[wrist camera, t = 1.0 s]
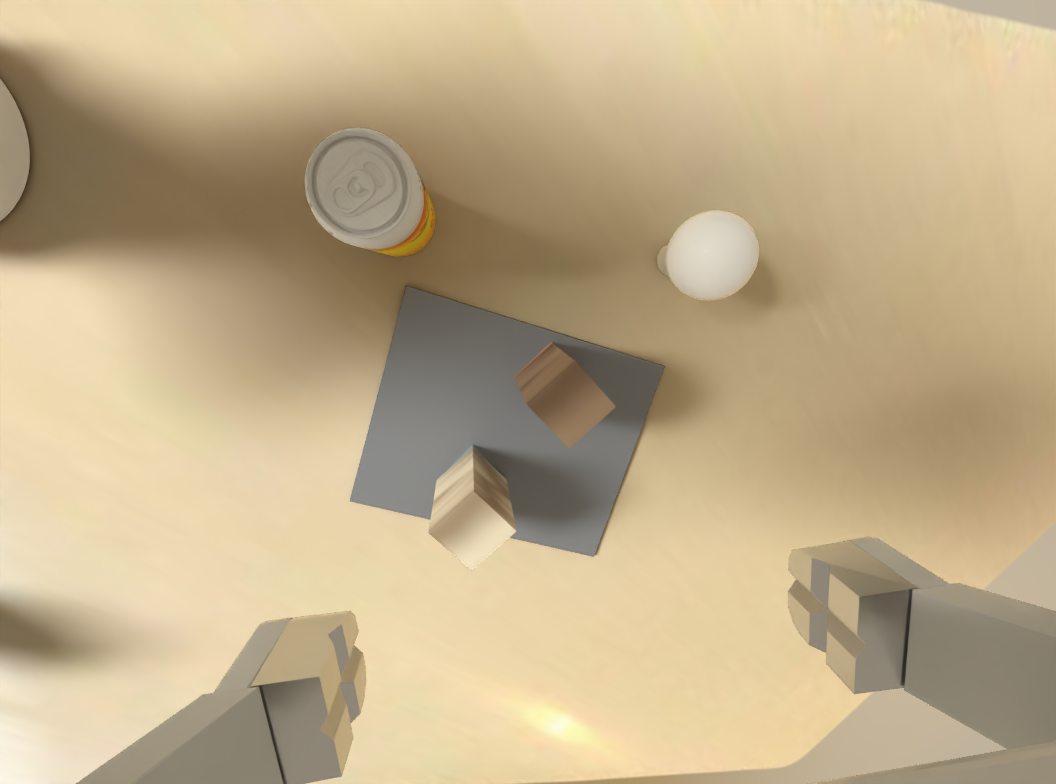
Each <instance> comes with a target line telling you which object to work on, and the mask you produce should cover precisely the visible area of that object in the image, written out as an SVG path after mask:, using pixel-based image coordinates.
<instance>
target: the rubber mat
mask: <svg viewBox="0 0 1056 784" xmlns="http://www.w3.org/2000/svg"><path fill="white" fill-rule="evenodd" d="M551 342H552V343H553V344H554V345H555V346H557V347H558V348H559V349H561V350H562V351H563V352H564V353H566V354H567V355H568V356H570V357H571V358H572V359H573V360H575V361H576V362H577V363H578V365H579V366H580V367H581V368H582V369H583V370H584V371H585V372H586V373H587V375H588V376H589V377H590V378H591V379H592V380H593V381H594V382H595V383H596V385H597V386H598V387H599V388H600V389H601V390H602V391H603V392H604V393H605V395H606V396H607V397H608V398H609V399H610V400H611V401H612V402H613V404H614V405H615V406H616V407H615V408H614V409H613V410H612V411H611V412H610V413H609V414H608V415H606V416H605V417H604V418H603V419H602V420H601V421H600V422H599V423H598V424H596V425H595V426H594V427H593V428H592V429H591V430H590V431H589V432H588V433H586V434H585V435H584V436H583V437H582V438H581V439H580V440H579V441H578V442H577V443H575V444H574V445H573V446H572V447H571V448H570V449H569V448H568V447H567V446H566V445H565V444H564V443H563V442H562V441H561V440H560V439H559V438H558V437H557V436H556V435H555V434H554V433H553V431H552V430H551V429H550V428H549V427H548V426H547V425H546V424H545V423H544V422H543V421H542V420H541V419H540V418H539V417H538V416H537V415H536V414H535V413H534V412H533V411H532V410H531V409H530V408H529V407H528V405H527V404H526V401H525V399H524V397H523V395H522V393H521V391H520V388H519V386H518V384H517V382H516V380H515V378H514V376H515V375H516V374H517V373H518V372H519V371H521V370H522V369H523V368H524V367H525V366H526V365H527V364H528V363H529V362H530V361H531V360H532V359H534V358H535V357H536V356H537V355H538V354H539V353H540V352H541V351H542V350H543V349H544V348H545V347H546V346H548V345H549V344H550V343H551ZM664 367H665V366H662V365H659V364H656V363H652V362H649V361H646V360H643V359H640V358H636V357H633V356H630V355H627V354H624V353H620V352H617V351H614V350H611V349H608V348H604V347H601V346H598V345H595V344H592V343H588V342H585V341H582V340H579V339H576V338H572V337H569V336H566V335H563V334H560V333H556V332H553V331H550V330H547V329H543V328H540V327H537V326H534V325H531V324H527V323H524V322H521V321H518V320H515V319H511V318H508V317H505V316H502V315H499V314H495V313H492V312H489V311H486V310H483V309H479V308H476V307H473V306H470V305H467V304H463V303H460V302H457V301H454V300H451V299H447V298H444V297H441V296H438V295H435V294H431V293H428V292H425V291H422V290H419V289H415V288H412V287H409V286H406V289H405V293H404V297H403V301H402V304H401V308H400V312H399V316H398V320H397V323H396V327H395V331H394V335H393V339H392V342H391V346H390V350H389V354H388V358H387V361H386V365H385V369H384V373H383V377H382V380H381V384H380V388H379V392H378V396H377V399H376V403H375V407H374V411H373V415H372V418H371V422H370V426H369V430H368V434H367V437H366V441H365V445H364V449H363V453H362V456H361V460H360V464H359V468H358V472H357V475H356V479H355V483H354V487H353V491H352V494H351V498H350V501H351V502H355V503H360V504H364V505H369V506H373V507H377V508H382V509H386V510H391V511H395V512H399V513H404V514H408V515H413V516H417V517H421V518H426V519H430V520H431V513H432V507H433V500H434V494H435V487H436V478H437V477H438V476H439V475H440V474H441V473H442V472H443V471H445V470H446V469H447V468H448V467H449V466H450V465H451V464H452V463H453V462H454V461H455V460H456V459H458V458H459V457H460V456H461V455H462V454H463V453H464V452H465V451H466V450H467V449H468V448H470V447H471V446H472V445H473V446H474V447H476V448H477V449H478V450H479V451H480V452H481V453H482V454H483V455H484V456H485V457H486V458H487V459H488V460H489V461H490V462H491V463H492V464H493V465H494V466H495V467H496V468H497V469H498V470H499V471H500V472H501V473H502V474H503V475H504V476H505V477H506V478H507V484H508V490H509V495H510V500H511V505H512V510H513V515H514V521H515V526H516V532H515V533H514V534H513V535H512V536H511V537H510V538H514V539H518V540H522V541H527V542H531V543H536V544H540V545H544V546H549V547H553V548H558V549H562V550H566V551H571V552H575V553H580V554H584V555H588V556H593V557H594V555H595V552H596V550H597V547H598V544H599V542H600V539H601V536H602V533H603V531H604V528H605V525H606V523H607V520H608V517H609V515H610V512H611V509H612V507H613V504H614V501H615V499H616V496H617V493H618V491H619V488H620V485H621V483H622V480H623V477H624V475H625V472H626V469H627V467H628V464H629V461H630V459H631V456H632V453H633V450H634V448H635V445H636V442H637V440H638V437H639V434H640V432H641V429H642V426H643V424H644V421H645V418H646V416H647V413H648V410H649V408H650V405H651V402H652V400H653V397H654V394H655V392H656V389H657V386H658V384H659V381H660V378H661V375H662V373H663V370H664Z"/></svg>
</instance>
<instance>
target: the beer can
mask: <svg viewBox="0 0 1056 784" xmlns="http://www.w3.org/2000/svg"><path fill="white" fill-rule="evenodd" d="M305 192H306V197H307V201H308V204H309V206H310V209H311V211H312V213H313V214H314V216H315V218H316V219H317V221H318V222H319V223H320V225H321V226H322V227H323V228H324V229H325V230H326V231H327V232H329V233H330V234H331V235H332V236H334V237H335V238H337V239H339V240H340V241H342V242H344V243H347V244H350V245H353V246H356V247H360V248H364V249H368V250H371V251H375V252H379V253H382V254H386V255H390V256H396V257H403V256H409V255H412V254H414V253H416V252H418V251H420V250H421V249H422V248H424V247H425V246H426V245H427V243H428V242H429V241H430V239H431V237H432V235H433V232H434V229H435V223H436V216H435V210H434V206H433V203H432V201H431V199H430V197H429V195H428V193H427V191H426V188H425V186H424V184H423V182H422V180H421V178H420V176H419V174H418V172H417V170H416V167H415V165H414V164H413V162H412V160H411V158H410V157H409V155H408V154H407V153H406V151H405V150H404V149H403V148H402V147H401V146H400V145H399V144H398V143H397V142H395V141H394V140H393V139H392V138H390V137H388V136H387V135H385V134H383V133H381V132H378V131H375V130H372V129H367V128H348V129H343V130H340V131H337V132H335V133H333V134H331V135H330V136H328V137H326V138H325V139H324V140H323V141H322V142H321V143H320V144H319V145H318V146H317V147H316V148H315V150H314V151H313V153H312V155H311V157H310V159H309V161H308V164H307V168H306V172H305Z"/></svg>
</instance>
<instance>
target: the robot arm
mask: <svg viewBox="0 0 1056 784" xmlns="http://www.w3.org/2000/svg"><path fill="white" fill-rule="evenodd" d="M29 165H30V150H29V142H28V136H27V132H26V128H25V124H24V121H23V119H22V116H21V113H20V111H19V109H18V107H17V105H16V103H15V101H14V99H13V97H12V95H11V94H10V92H9V91H8V89H7V87H6V86H5V85H4V83H3V82H2V80H1V79H0V221H1V220H2V219H4V218H5V217H6V216H7V215H8V214H9V213H10V212H11V210H12V209H13V208H14V207H15V205H16V204H17V202H18V201H19V199H20V197H21V195H22V193H23V191H24V188H25V185H26V182H27V178H28V173H29ZM788 570H789V571H790V573H791V574H792V575H793V576H794V578H795V579H796V580H795V582H794V583H793V585H792V586H791V588H790V589H789V591H788V608H789V611H790V614H791V618H792V621H793V624H794V625H795V627H796V629H797V630H798V632H799V634H800V635H801V636H802V637H803V639H804V640H805V641H806V642H807V643H808V644H809V645H810V646H813V647H815V648H817V649H819V650H821V651H823V652H825V653H826V664H827V665H828V666H829V667H830V668H831V670H832V671H833V672H834V673H835V674H836V675H837V676H838V677H839V678H840V679H841V680H842V682H843V683H844V684H845V685H846V686H847V687H848V688H849V689H850V690H851V691H852V692H853V694H858V693H866V692H874V691H882V690H890V689H897V688H904V690H905V691H906V692H908V693H910V694H912V695H914V696H915V697H917V698H919V699H920V700H922V701H924V702H926V703H928V704H929V705H931V706H933V707H934V708H936V709H938V710H940V711H942V712H943V713H945V714H947V715H948V716H950V717H952V718H954V719H956V720H957V721H959V722H961V723H963V724H964V725H966V726H968V727H970V728H971V729H973V730H975V731H977V732H978V733H980V734H982V735H984V736H985V737H987V738H989V739H991V740H993V741H994V742H996V743H998V744H999V745H1001V746H1003V747H1005V748H1006V749H1007V750H1002V751H996V752H991V753H985V754H979V755H973V756H968V757H962V758H956V759H950V760H944V761H938V762H933V763H927V764H921V765H915V766H910V767H903V768H897V769H892V770H885V771H880V772H874V773H868V774H862V775H856V776H850V777H844V778H838V779H832V780H827V781H821V782H815V783H809V784H1056V611H1053V610H1049V609H1046V608H1043V607H1039V606H1036V605H1033V604H1029V603H1026V602H1022V601H1019V600H1015V599H1011V598H1008V597H1005V596H1002V595H998V594H994V593H991V592H988V591H984V590H981V589H977V588H974V587H971V586H967V585H964V584H960V583H955V584H949V583H947V582H946V581H944V580H943V579H941V578H940V577H938V576H936V575H935V574H933V573H932V572H930V571H928V570H927V569H925V568H924V567H922V566H921V565H919V564H917V563H916V562H914V561H913V560H911V559H909V558H908V557H906V556H905V555H903V554H902V553H900V552H898V551H897V550H895V549H894V548H892V547H891V546H889V545H887V544H886V543H884V542H883V541H881V540H879V539H877V538H872V537H864V538H859V539H853V540H847V541H843V542H838V543H832V544H826V545H820V546H813V547H807V548H801V549H794V550H792V552H791V554H790V556H789V568H788ZM358 632H359V631H358V626H357V622H356V618H355V615H354V614H353V613H352V612H351V611H344V612H335V613H327V614H319V615H310V616H302V617H295V618H285V619H278V620H271V621H266V622H264V623H262V624H260V625H259V626H258V627H257V629H256V630H255V632H254V633H253V635H252V636H251V637H250V639H249V640H248V642H247V643H246V645H245V646H244V648H243V649H242V651H241V652H240V654H239V655H238V657H237V658H236V660H235V661H234V663H233V664H232V666H231V667H230V669H229V670H228V672H227V673H226V675H225V676H224V678H223V679H222V681H221V682H220V683H219V685H218V686H217V688H216V689H215V691H214V692H213V693H210V694H204V695H202V696H200V697H199V698H198V699H196V700H195V701H193V702H192V703H190V704H189V705H188V706H186V707H185V708H183V709H182V710H180V711H179V712H178V713H176V714H175V715H173V716H172V717H170V718H169V719H168V720H166V721H165V722H163V723H162V724H160V725H159V726H158V727H156V728H155V729H153V730H152V731H150V732H149V733H148V734H146V735H145V736H143V737H142V738H140V739H139V740H138V741H136V742H135V743H133V744H132V745H130V746H129V747H128V748H126V749H125V750H123V751H122V752H120V753H119V754H118V755H116V756H115V757H113V758H112V759H110V760H109V761H108V762H106V763H105V764H103V765H102V766H100V767H99V768H98V769H96V770H95V771H93V772H92V773H90V774H89V775H88V776H86V777H85V778H83V779H82V780H80V781H79V782H78V783H76V784H305V783H310V782H316V781H321V780H326V779H331V778H336V777H341V776H342V774H343V771H344V767H345V764H346V761H347V757H348V754H349V750H350V747H351V744H352V740H353V733H352V728H351V723H352V721H353V720H354V719H355V718H356V717H357V716H358V715H359V714H360V713H361V709H362V705H363V702H364V697H365V686H366V670H365V661H364V656H363V653H362V652H361V651H360V650H359V649H358V648H357V647H355V646H354V643H355V640H356V638H357V635H358Z"/></svg>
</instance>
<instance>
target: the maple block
mask: <svg viewBox="0 0 1056 784" xmlns="http://www.w3.org/2000/svg"><path fill="white" fill-rule="evenodd" d="M515 532H516V526H515V521H514V515H513V510H512V505H511V500H510V495H509V490H508V484H507V478H506V477H505V476H504V475H503V474H502V473H501V472H500V471H499V470H498V469H497V468H496V467H495V466H494V465H493V464H492V463H491V462H490V461H489V460H488V459H487V458H486V457H485V456H484V455H483V454H482V453H481V452H480V451H479V450H478V449H477V448H476V447H474V446H473V445H472V446H471V447H470V448H468V449H467V450H466V451H465V452H464V453H463V454H462V455H461V456H460V457H459V458H458V459H456V460H455V461H454V462H453V463H452V464H451V465H450V466H449V467H448V468H447V469H446V470H445V471H443V472H442V473H441V474H440V475H439V476H438V477H437V478H436V487H435V494H434V500H433V507H432V513H431V520H430V526H429V534H430V535H432V536H433V537H434V538H435V539H436V540H437V541H438V542H440V543H441V544H442V545H443V546H444V547H445V548H446V549H447V550H449V551H450V552H451V553H452V554H453V555H454V556H455V557H457V558H458V559H459V560H460V561H461V562H462V563H463V564H465V565H466V566H467V567H468V568H469V569H470V570H471V571H473V570H474V569H475V568H476V567H477V566H478V565H479V564H481V563H482V562H483V561H484V560H485V559H486V558H487V557H488V556H490V555H491V554H492V553H493V552H494V551H495V550H496V549H497V548H498V547H500V546H501V545H502V544H503V543H504V542H505V541H506V540H507V539H509V538H510V537H511V536H512V535H513V534H514V533H515Z"/></svg>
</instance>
